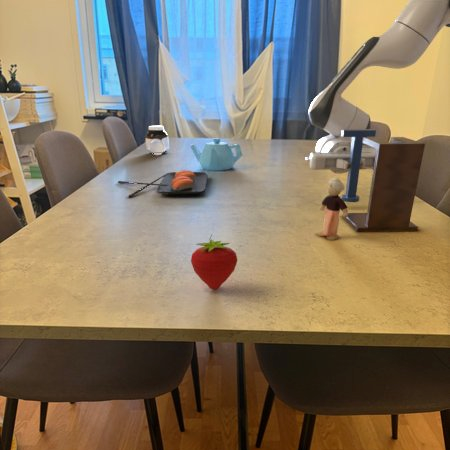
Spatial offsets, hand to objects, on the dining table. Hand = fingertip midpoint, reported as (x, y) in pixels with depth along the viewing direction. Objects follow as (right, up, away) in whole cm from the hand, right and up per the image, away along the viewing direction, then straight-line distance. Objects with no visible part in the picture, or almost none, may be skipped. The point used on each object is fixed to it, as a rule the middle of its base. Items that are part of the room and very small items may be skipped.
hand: (355, 165), depth 110 cm
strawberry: (-35, -33, -38) cm, 61 cm away
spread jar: (-64, +33, +89) cm, 115 cm away
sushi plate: (-54, +2, +29) cm, 62 cm away
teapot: (-37, +17, +58) cm, 71 cm away
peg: (0, -8, +5) cm, 9 cm away
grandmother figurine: (-10, -20, -15) cm, 27 cm away
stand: (+3, -16, -6) cm, 17 cm away
